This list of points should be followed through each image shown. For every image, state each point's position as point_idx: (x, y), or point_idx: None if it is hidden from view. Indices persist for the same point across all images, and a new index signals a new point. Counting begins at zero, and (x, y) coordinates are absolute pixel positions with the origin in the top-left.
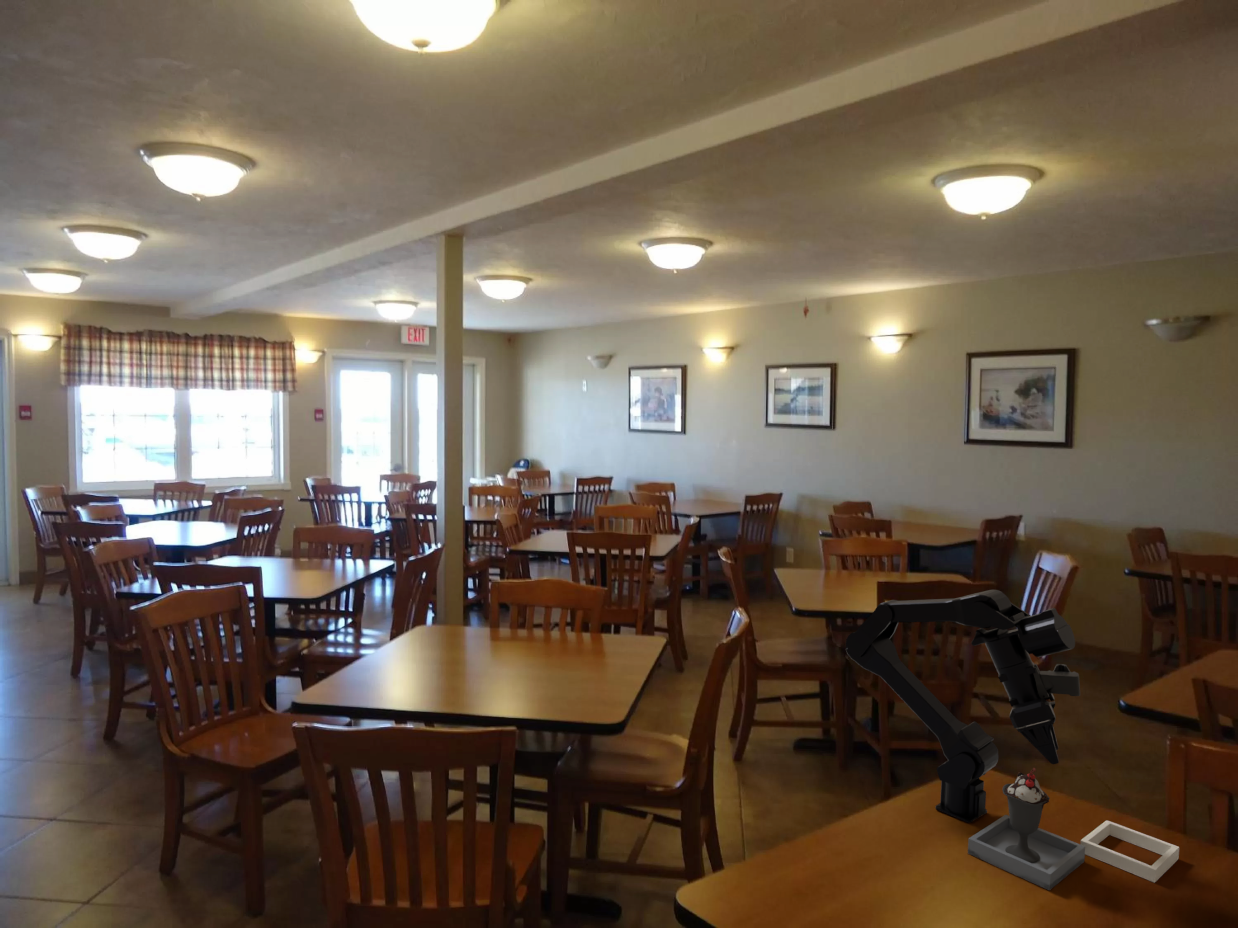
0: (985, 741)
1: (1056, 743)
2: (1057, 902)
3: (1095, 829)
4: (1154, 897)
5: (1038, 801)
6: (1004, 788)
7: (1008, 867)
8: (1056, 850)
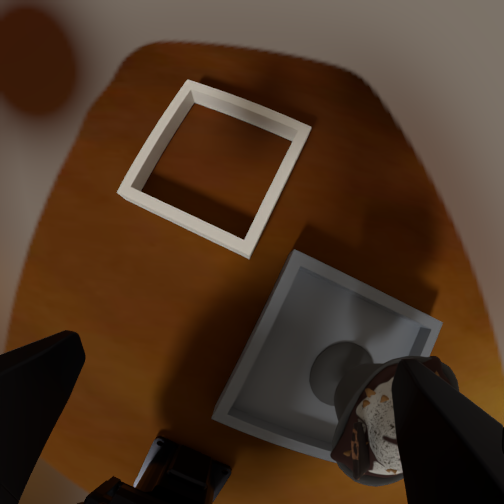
0: None
1: (59, 345)
2: (451, 306)
3: (175, 218)
4: (360, 149)
5: (448, 383)
6: (388, 480)
7: None
8: (290, 309)
